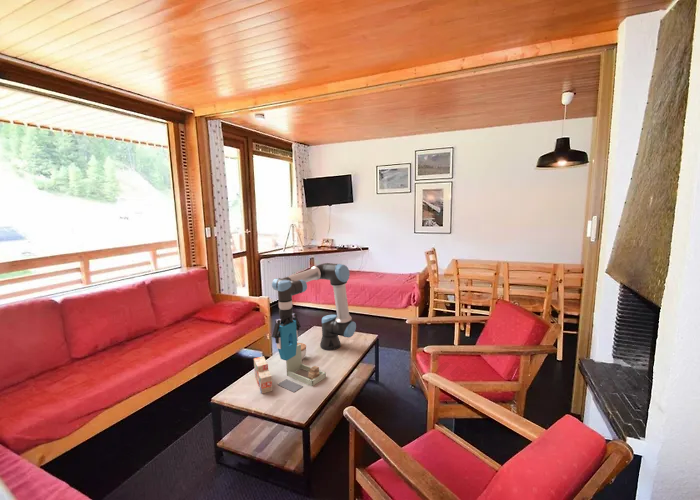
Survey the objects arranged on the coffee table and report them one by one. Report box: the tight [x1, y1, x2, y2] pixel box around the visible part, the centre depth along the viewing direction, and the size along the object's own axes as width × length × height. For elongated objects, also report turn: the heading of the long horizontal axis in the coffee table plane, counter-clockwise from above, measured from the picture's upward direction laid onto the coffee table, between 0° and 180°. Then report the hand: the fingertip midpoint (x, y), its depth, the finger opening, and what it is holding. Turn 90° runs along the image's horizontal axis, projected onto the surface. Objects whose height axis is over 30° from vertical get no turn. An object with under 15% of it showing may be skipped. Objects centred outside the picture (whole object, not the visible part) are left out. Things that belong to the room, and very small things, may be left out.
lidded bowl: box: [297, 342, 307, 360], centre depth 220 cm, size 13×13×11 cm
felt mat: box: [277, 379, 304, 393], centre depth 187 cm, size 7×14×1 cm, turn 53°
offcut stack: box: [307, 365, 320, 380], centre depth 193 cm, size 6×4×8 cm
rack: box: [285, 344, 327, 387], centre depth 196 cm, size 12×22×16 cm, turn 53°
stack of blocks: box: [253, 355, 273, 394], centre depth 190 cm, size 21×6×12 cm, turn 26°
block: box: [277, 319, 298, 361], centre depth 184 cm, size 12×5×20 cm, turn 149°
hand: (287, 344), depth 184 cm, fingers closed on block, 12 cm apart
